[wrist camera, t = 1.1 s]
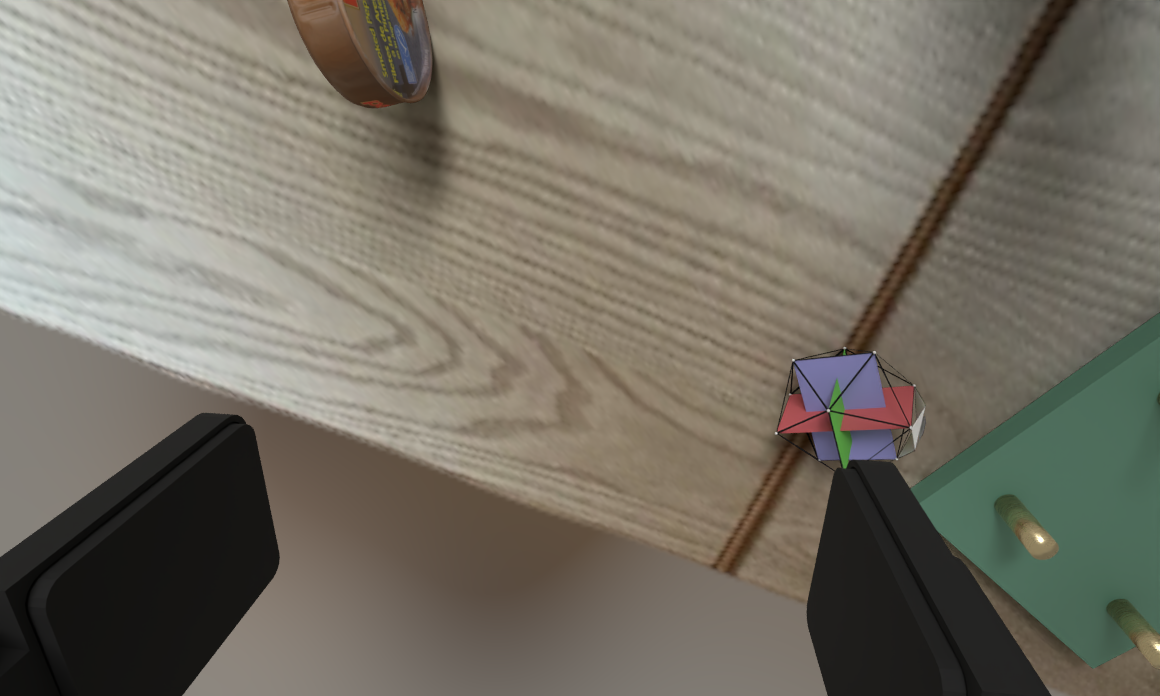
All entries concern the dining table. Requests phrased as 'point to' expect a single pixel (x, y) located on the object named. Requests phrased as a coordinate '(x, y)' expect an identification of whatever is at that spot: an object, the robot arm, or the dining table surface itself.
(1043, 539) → the brass standoffs
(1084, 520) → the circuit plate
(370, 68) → the tin
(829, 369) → the geometric puzzle
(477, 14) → the dining table surface
